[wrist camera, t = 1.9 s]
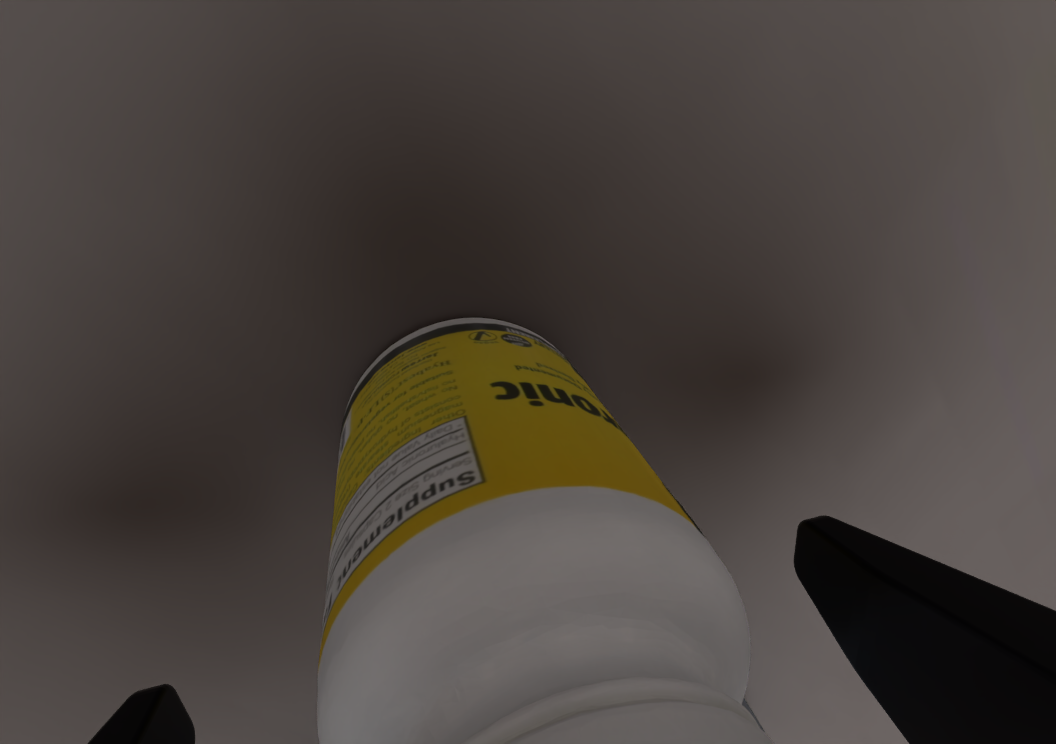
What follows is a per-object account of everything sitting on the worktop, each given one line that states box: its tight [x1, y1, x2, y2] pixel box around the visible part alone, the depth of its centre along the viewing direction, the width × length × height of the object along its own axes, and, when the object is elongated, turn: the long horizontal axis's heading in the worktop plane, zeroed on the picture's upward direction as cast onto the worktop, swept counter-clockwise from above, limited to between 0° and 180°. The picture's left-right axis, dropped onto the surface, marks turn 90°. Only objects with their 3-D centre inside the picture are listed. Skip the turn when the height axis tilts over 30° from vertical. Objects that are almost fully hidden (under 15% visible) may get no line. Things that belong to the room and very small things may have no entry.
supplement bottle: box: [317, 318, 774, 744], centre depth 9 cm, size 5×5×10 cm
